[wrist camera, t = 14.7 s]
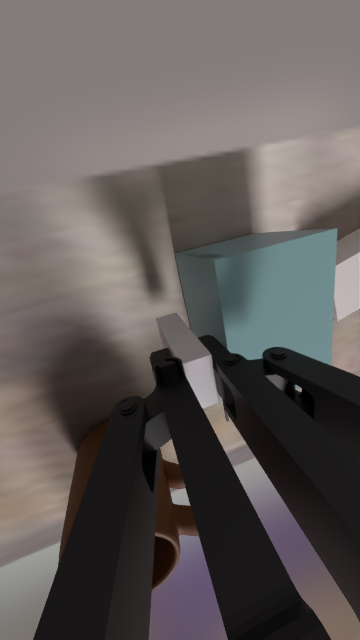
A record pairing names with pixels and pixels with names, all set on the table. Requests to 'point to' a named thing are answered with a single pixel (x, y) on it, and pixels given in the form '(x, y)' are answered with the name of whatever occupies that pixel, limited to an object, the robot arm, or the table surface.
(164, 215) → the table surface
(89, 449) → the mug
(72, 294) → the table surface
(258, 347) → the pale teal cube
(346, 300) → the slat
